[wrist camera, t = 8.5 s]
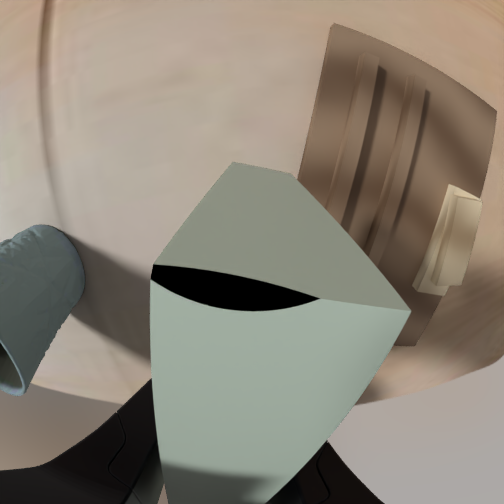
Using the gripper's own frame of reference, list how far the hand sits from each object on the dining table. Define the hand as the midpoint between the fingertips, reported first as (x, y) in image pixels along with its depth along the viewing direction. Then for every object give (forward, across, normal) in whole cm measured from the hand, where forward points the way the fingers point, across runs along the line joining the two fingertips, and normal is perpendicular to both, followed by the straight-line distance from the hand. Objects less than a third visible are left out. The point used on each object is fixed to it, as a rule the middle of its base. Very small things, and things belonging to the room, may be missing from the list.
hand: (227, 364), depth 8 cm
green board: (+3, 0, 0) cm, 3 cm away
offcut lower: (+12, -16, -3) cm, 21 cm away
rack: (+13, -11, -4) cm, 17 cm away
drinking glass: (+13, +17, +7) cm, 23 cm away
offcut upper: (+11, -16, -4) cm, 20 cm away
